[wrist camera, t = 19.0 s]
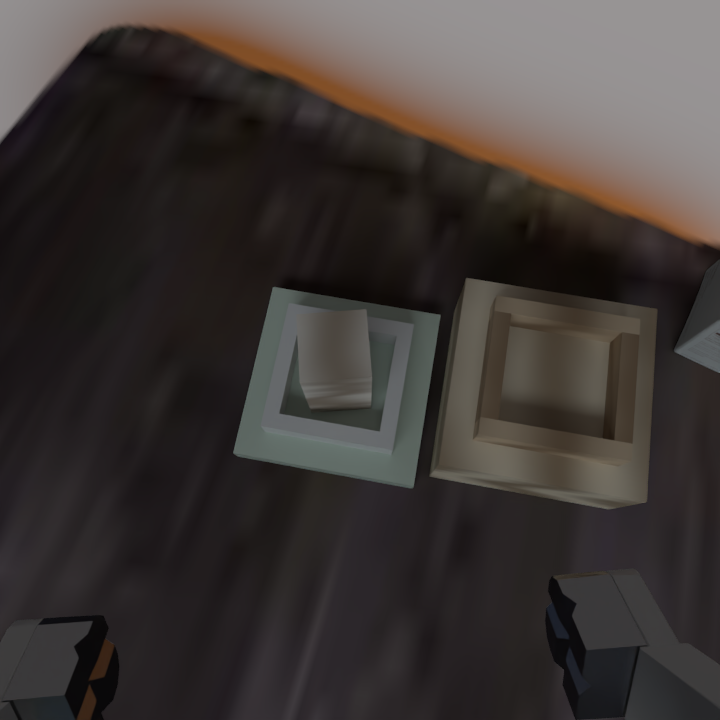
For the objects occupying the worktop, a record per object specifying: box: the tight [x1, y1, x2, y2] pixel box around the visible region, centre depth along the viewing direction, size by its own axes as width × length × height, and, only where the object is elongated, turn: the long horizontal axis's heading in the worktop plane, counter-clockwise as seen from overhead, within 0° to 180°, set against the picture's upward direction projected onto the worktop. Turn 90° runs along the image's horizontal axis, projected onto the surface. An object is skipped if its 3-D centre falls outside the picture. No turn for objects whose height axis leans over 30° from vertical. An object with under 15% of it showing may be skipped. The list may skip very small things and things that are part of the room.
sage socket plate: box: [233, 287, 441, 488], centre depth 44 cm, size 12×12×4 cm
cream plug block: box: [296, 309, 372, 413], centre depth 40 cm, size 4×4×8 cm
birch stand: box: [429, 278, 657, 509], centre depth 41 cm, size 12×12×8 cm
